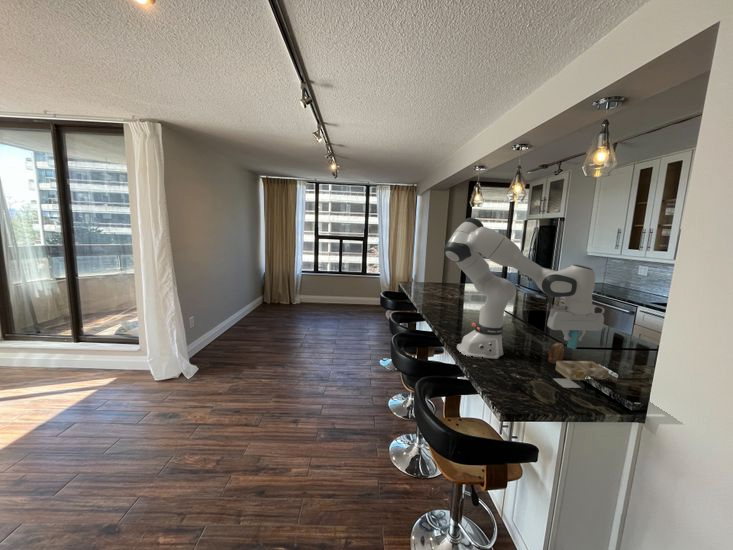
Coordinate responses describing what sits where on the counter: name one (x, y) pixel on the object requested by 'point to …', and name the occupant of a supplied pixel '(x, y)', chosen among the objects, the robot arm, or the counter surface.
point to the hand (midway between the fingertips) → (572, 340)
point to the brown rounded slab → (556, 353)
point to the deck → (567, 383)
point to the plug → (573, 339)
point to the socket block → (580, 369)
